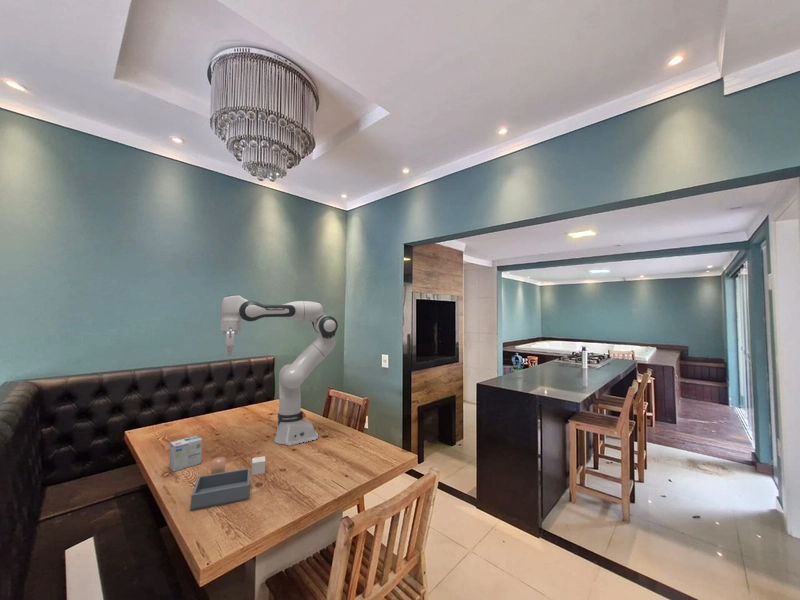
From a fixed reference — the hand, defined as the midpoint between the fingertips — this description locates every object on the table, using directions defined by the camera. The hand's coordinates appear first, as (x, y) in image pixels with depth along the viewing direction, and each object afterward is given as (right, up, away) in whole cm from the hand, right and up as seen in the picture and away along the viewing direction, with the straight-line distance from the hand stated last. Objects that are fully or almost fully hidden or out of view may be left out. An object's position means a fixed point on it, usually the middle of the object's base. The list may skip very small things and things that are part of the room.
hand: (229, 354), depth 156 cm
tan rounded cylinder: (+11, -45, -29) cm, 55 cm away
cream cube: (+25, -45, -24) cm, 57 cm away
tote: (+20, -44, -42) cm, 64 cm away
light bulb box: (-9, -45, -20) cm, 50 cm away
